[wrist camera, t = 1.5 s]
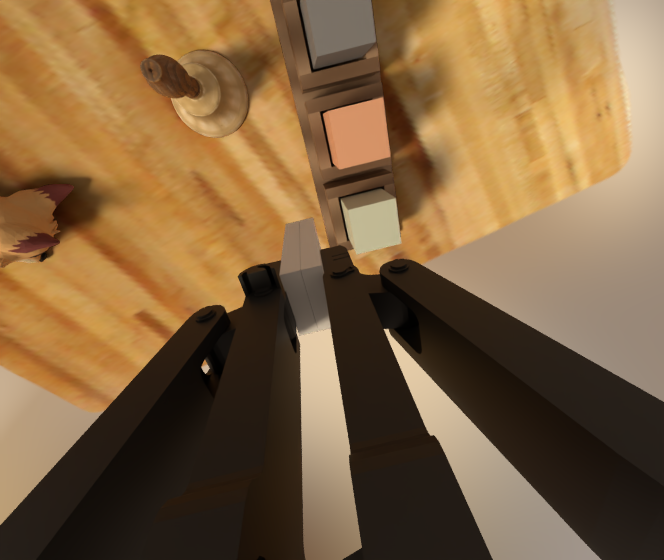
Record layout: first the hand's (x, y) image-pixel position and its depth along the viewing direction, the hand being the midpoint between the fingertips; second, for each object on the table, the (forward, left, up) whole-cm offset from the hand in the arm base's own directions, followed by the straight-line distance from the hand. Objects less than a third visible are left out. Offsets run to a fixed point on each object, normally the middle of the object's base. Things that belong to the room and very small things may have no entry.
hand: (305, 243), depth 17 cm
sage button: (+5, +7, -20) cm, 22 cm away
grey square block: (-13, +7, -20) cm, 25 cm away
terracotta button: (-4, +7, -20) cm, 22 cm away
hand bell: (-11, -7, -25) cm, 28 cm away
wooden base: (-4, +7, -24) cm, 25 cm away
